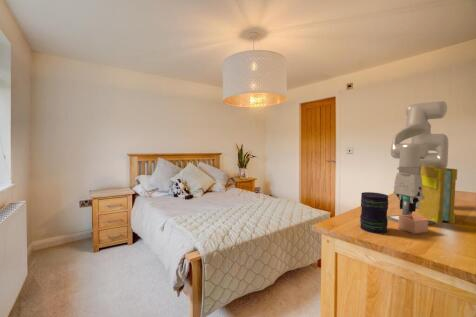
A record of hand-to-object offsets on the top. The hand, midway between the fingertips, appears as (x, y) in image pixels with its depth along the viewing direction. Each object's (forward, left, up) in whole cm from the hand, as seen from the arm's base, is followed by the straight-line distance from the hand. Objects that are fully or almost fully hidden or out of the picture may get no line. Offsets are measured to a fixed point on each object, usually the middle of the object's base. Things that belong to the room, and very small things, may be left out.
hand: (407, 209), depth 101 cm
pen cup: (+8, +8, -6) cm, 13 cm away
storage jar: (+23, +3, -6) cm, 24 cm away
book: (-20, -3, -6) cm, 21 cm away
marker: (0, 0, -4) cm, 4 cm away
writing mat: (-3, -2, -6) cm, 7 cm away
